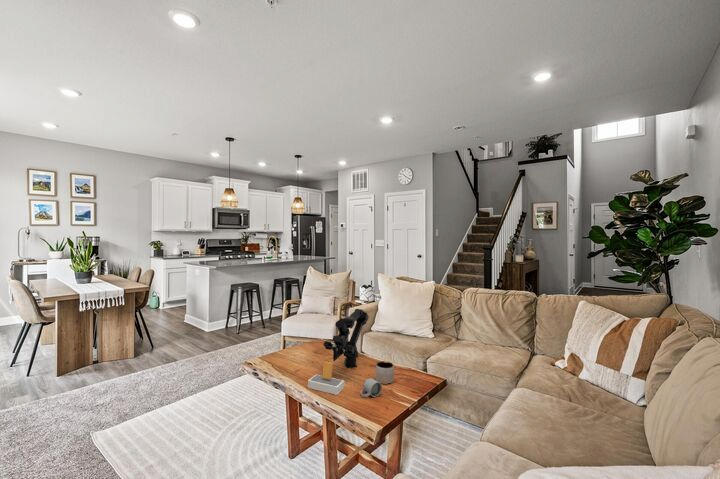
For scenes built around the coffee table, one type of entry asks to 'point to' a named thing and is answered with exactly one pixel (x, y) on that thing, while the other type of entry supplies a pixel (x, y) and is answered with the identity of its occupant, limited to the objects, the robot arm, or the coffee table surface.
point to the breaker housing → (326, 384)
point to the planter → (384, 372)
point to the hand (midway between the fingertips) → (334, 360)
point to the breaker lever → (327, 370)
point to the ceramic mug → (371, 388)
